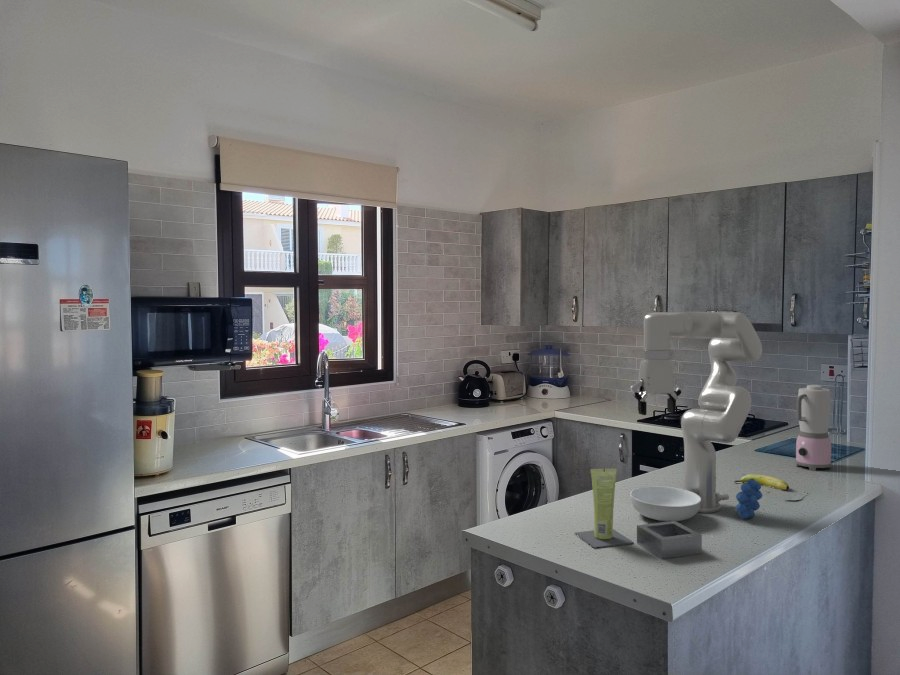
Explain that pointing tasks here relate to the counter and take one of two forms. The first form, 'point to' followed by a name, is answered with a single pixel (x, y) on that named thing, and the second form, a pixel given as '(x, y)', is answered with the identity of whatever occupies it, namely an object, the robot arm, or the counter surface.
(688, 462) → the robot arm
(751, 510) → the grapes
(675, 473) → the counter surface
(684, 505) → the serving bowl
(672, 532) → the housing
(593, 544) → the mat
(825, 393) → the blender
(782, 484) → the banana
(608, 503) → the tube
